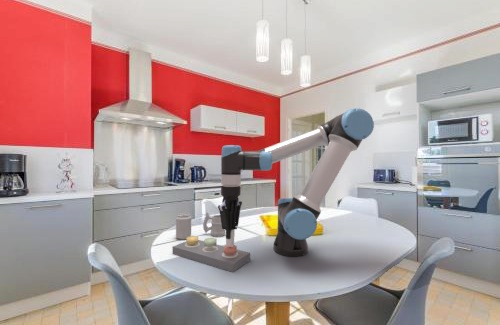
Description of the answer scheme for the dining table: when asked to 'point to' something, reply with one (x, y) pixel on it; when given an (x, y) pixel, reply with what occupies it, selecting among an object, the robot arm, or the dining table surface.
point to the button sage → (210, 242)
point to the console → (212, 255)
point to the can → (183, 226)
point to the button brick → (230, 250)
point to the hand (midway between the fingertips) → (230, 246)
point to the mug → (214, 226)
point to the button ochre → (192, 240)
